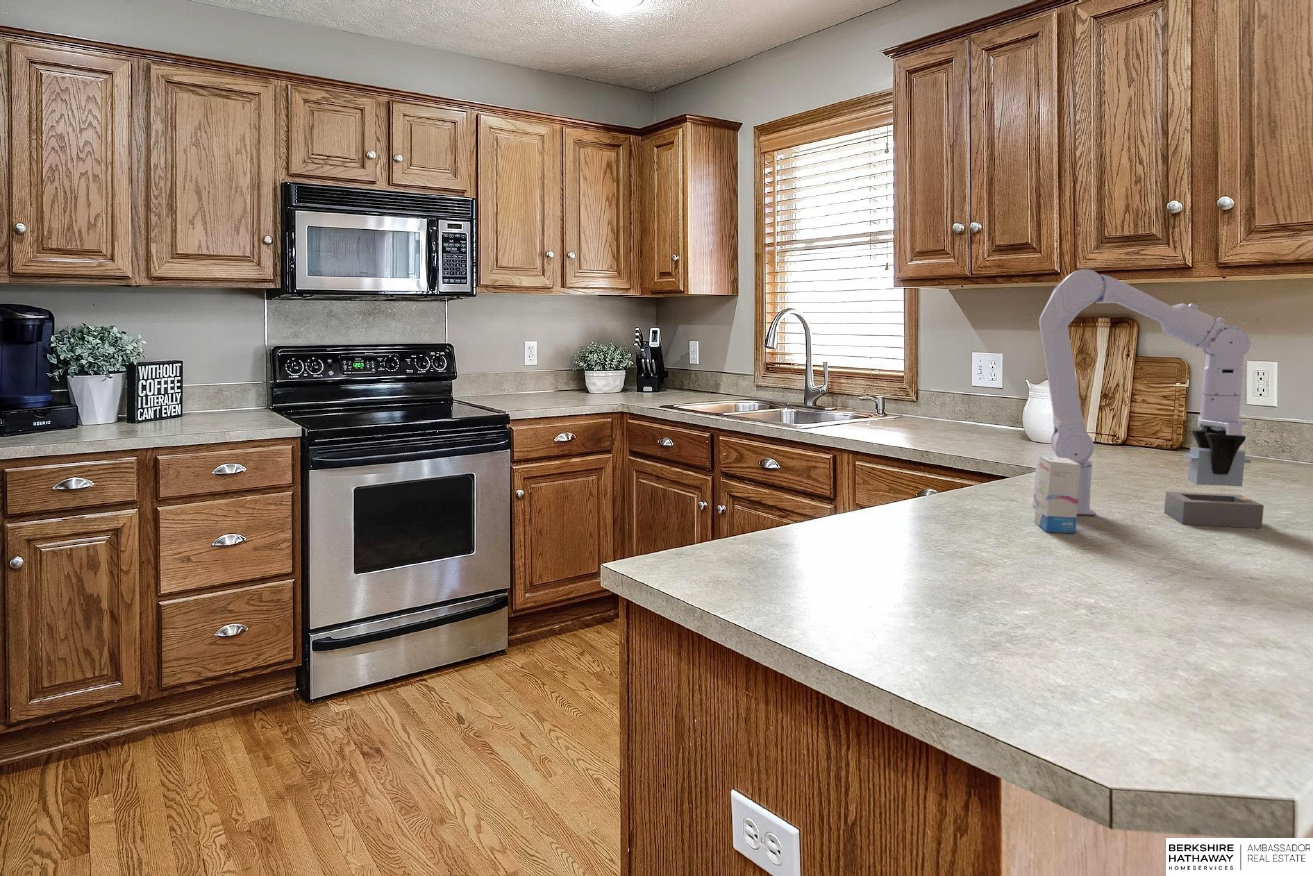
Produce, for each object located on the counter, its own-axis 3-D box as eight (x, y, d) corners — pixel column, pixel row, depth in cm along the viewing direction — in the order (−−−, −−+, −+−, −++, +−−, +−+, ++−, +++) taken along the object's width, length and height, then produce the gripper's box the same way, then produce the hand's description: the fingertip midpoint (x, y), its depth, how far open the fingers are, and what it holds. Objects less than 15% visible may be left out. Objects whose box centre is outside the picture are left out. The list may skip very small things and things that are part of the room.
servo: (1190, 484, 149) (1192, 447, 148) (1181, 480, 153) (1184, 443, 152) (1248, 486, 146) (1252, 448, 146) (1238, 482, 151) (1241, 445, 150)
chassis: (1182, 524, 147) (1184, 500, 147) (1164, 512, 157) (1165, 490, 156) (1261, 528, 144) (1263, 504, 144) (1238, 516, 154) (1240, 493, 153)
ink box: (1077, 534, 140) (1082, 463, 138) (1045, 532, 141) (1049, 462, 139) (1063, 523, 148) (1068, 456, 147) (1033, 521, 149) (1037, 455, 148)
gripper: (1265, 398, 140) (1258, 479, 141) (1231, 392, 154) (1224, 466, 155) (1217, 397, 142) (1210, 477, 143) (1187, 392, 156) (1181, 465, 157)
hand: (1214, 471), depth 149 cm, fingers closed on servo, 4 cm apart
